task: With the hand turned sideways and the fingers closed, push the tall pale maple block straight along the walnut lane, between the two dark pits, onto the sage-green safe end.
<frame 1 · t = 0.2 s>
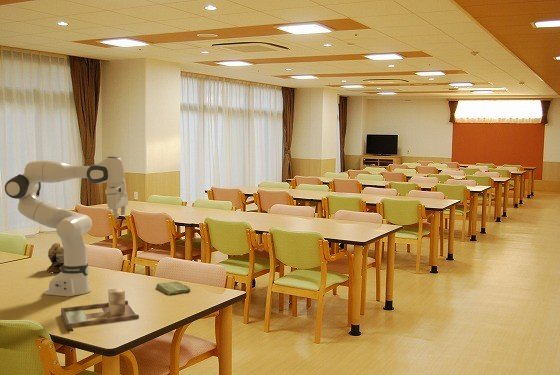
hand: (119, 216, 286), 39 cm above the table, tool pointing down, fingers open, 8 cm apart
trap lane: (100, 318, 250), on the table
maple block: (116, 312, 253), point 1 cm above the table, touching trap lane
owl figurine: (59, 271, 336), on the table
washcloth: (173, 291, 296), on the table
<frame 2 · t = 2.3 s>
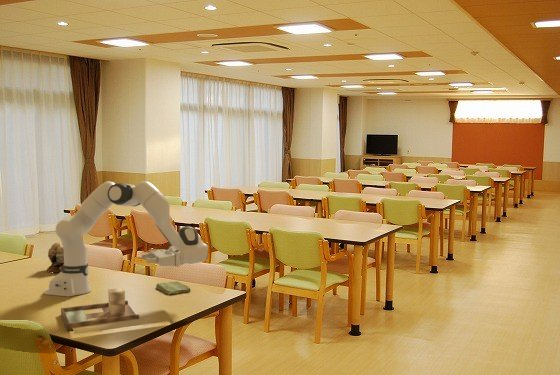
hand: (143, 258, 256), 25 cm above the table, tool horizontal, fingers open, 8 cm apart
nothing on the table moved.
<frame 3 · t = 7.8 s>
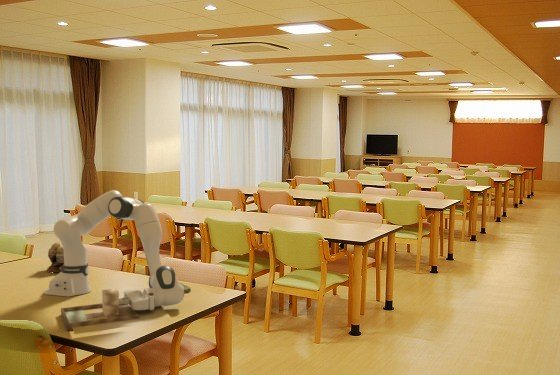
hand: (117, 301, 252), 6 cm above the table, tool horizontal, fingers closed, pressing on maple block
maple block: (110, 313, 251), point 1 cm above the table, touching gripper, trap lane
everything else where it was.
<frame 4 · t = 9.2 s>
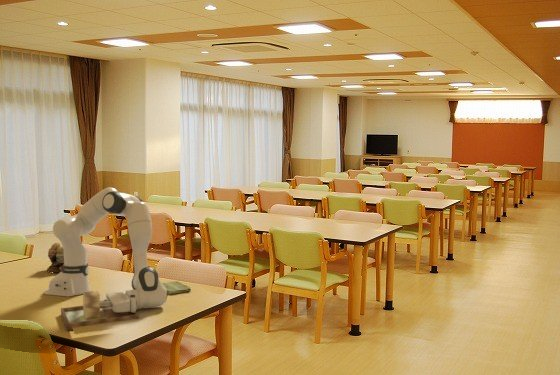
hand: (98, 303, 249), 6 cm above the table, tool horizontal, fingers closed
maple block: (91, 315, 248), point 2 cm above the table
everything else where it was.
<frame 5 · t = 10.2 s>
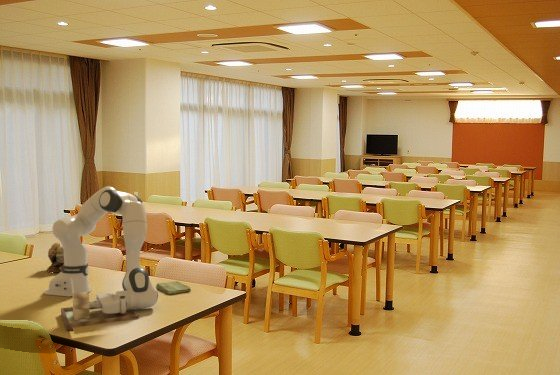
hand: (88, 304, 247), 6 cm above the table, tool horizontal, fingers closed, pressing on maple block
maple block: (81, 317, 246), point 1 cm above the table, touching gripper, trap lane
everything else where it was.
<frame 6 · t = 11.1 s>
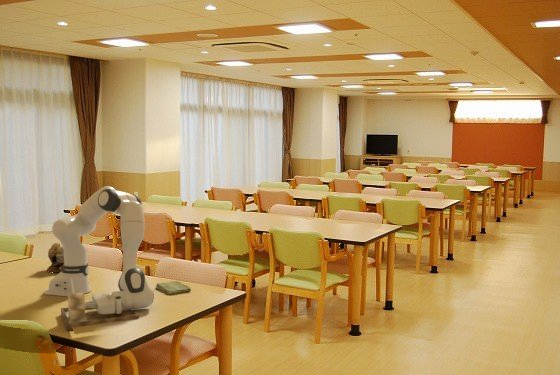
hand: (83, 305, 246), 7 cm above the table, tool horizontal, fingers closed, pressing on maple block
maple block: (76, 317, 245), point 2 cm above the table, touching gripper, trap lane
everything else where it was.
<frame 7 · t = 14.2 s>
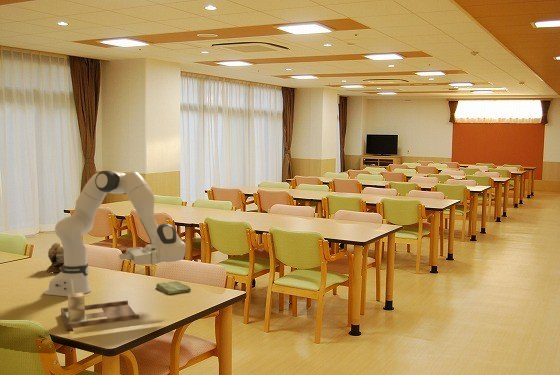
hand: (119, 256, 253), 26 cm above the table, tool horizontal, fingers closed
maple block: (76, 317, 245), point 1 cm above the table, touching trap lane
everything else where it was.
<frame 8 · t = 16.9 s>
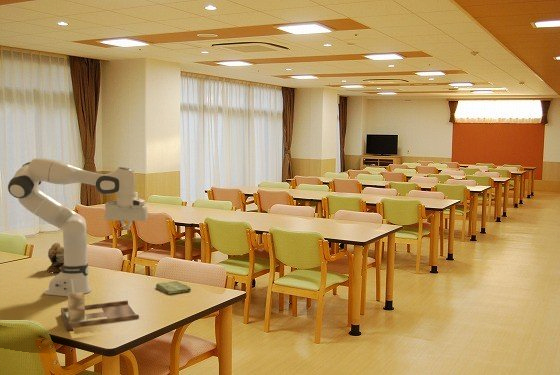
hand: (126, 229, 276), 34 cm above the table, tool pointing down, fingers closed
nothing on the table moved.
at the end: maple block inside the target area (0.1 cm from its centre), point 1.5 cm above the table; maple block tilted 0° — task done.
